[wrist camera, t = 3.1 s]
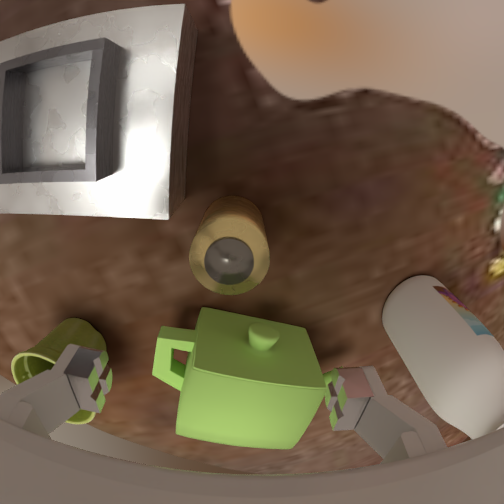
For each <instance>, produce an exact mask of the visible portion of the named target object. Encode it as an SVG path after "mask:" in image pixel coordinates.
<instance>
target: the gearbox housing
mask: <svg viewBox="0 0 504 504" xmlns="http://www.w3.org/2000/svg"><path fill="white" fill-rule="evenodd" d="M197 35H198V29H197V27H196V25H195V23H194V21H193V19H192V17H191V15H190V13H189V11H188V9H187V7H186V5H185V4H171V5H157V6H146V7H137V8H129V9H122V10H115V11H109V12H103V13H98V14H93V15H88V16H83V17H78V18H74V19H70V20H66V21H62V22H58V23H54V24H51V25H47V26H44V27H41V28H37V29H34V30H31V31H28V32H25V33H22V34H19V35H17V36H14V37H11V38H8V39H6V40H3V41H1V42H0V213H15V214H52V215H81V216H105V217H126V218H146V219H164V220H169V219H170V217H171V216H172V215H173V213H174V212H175V211H176V210H177V208H178V207H179V206H180V204H181V203H182V202H183V201H184V199H185V187H186V164H187V145H188V130H189V116H190V103H191V91H192V81H193V71H194V61H195V52H196V43H197Z"/></svg>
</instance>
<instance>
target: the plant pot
mask: <svg viewBox="0 0 504 504" xmlns="http://www.w3.org/2000/svg"><path fill="white" fill-rule="evenodd" d="M69 344H74V345H79V346H84V347H89V348H94V349H98V350H103V351H106V343H105V341H104V338H103V337H102V335H101V334H100V333H99V332H97V331H96V330H95V329H94V328H93V327H92V326H91V324H90V323H88V322H87V321H84V320H82V319H79V318H68V319H66V320H64V321H63V322H62V323H60V324H59V325H58V326H57V327H56V328H55V329H54V330H53V331H52V332H50V333H49V334H48V335H47V336H46V337H45V338H44V339H43V340H41V341H40V342H39V343H38V344H37V345H36V346H35V347H32V348H30V349H28V350H27V351H24V352H20V353H18V354H17V355H16V356H15V357H14V358H13V360H12V364H11V369H12V374H13V377H14V380H15V382H16V383H17V385H18V384H20V383H22V382H24V381H26V380H28V379H30V378H32V377H34V376H36V375H38V374H40V373H42V372H44V371H46V370H51V369H52V368H53V366H54V365H55V363H56V362H57V360H58V359H59V357H60V356H61V354H62V353H63V351H64V350H65V348H66V347H67V345H69ZM95 413H96V412H92V411H87V410H83V409H80V410H79V411H78V412H77V413H75V414H74V415H73V416H72V417H70V418H69V419H68V420H66V421H65V422H67V423H71V424H85V423H88V422H90V421H91V420H92V419H93V418H94V416H95Z"/></svg>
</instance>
